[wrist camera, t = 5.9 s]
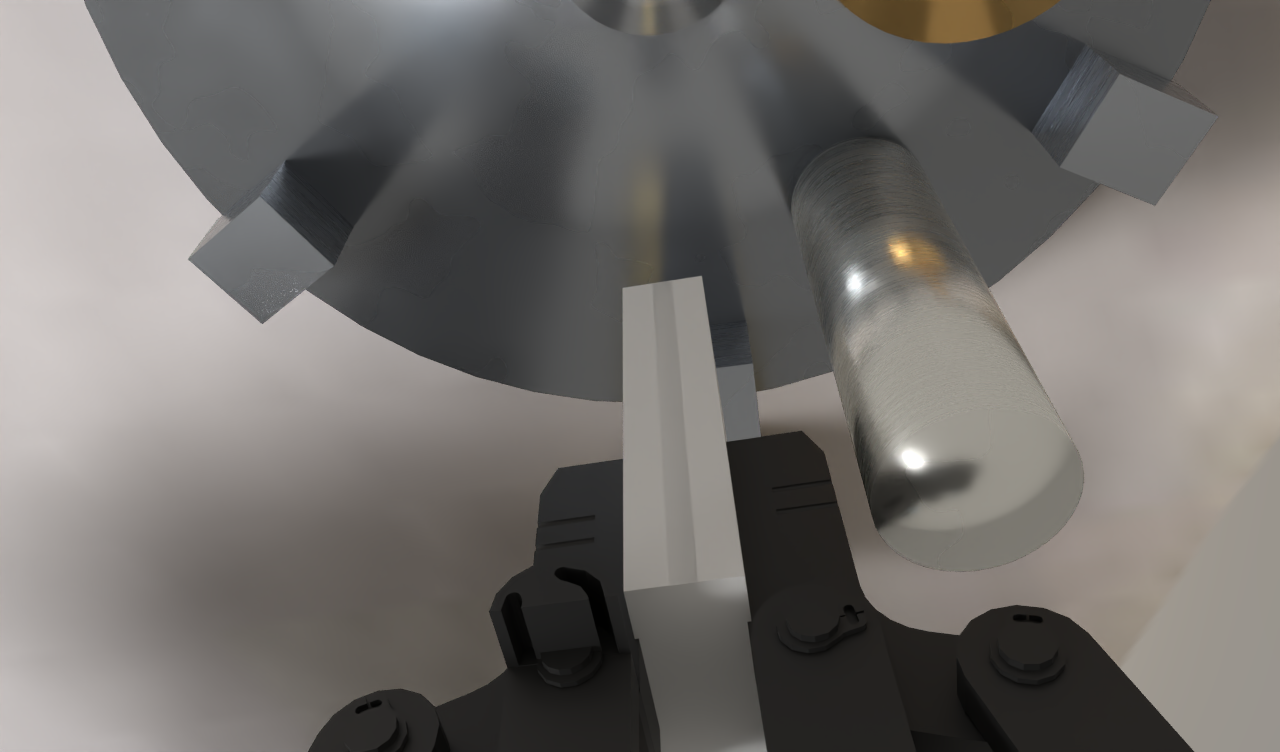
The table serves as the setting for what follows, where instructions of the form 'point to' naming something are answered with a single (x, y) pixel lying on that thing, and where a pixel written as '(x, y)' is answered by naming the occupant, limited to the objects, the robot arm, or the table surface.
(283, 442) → the table surface
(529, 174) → the dark grey round base
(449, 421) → the table surface
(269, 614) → the table surface
